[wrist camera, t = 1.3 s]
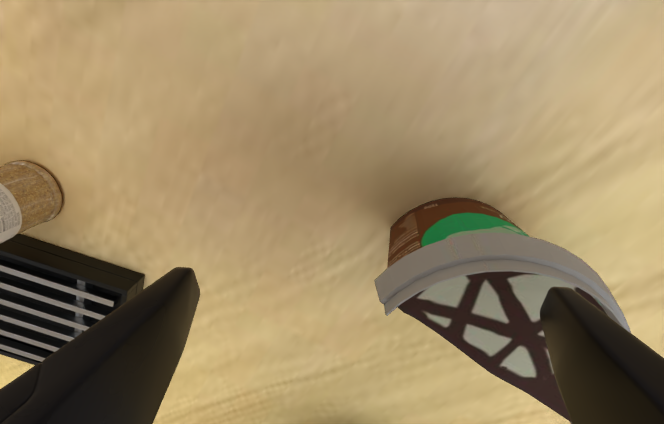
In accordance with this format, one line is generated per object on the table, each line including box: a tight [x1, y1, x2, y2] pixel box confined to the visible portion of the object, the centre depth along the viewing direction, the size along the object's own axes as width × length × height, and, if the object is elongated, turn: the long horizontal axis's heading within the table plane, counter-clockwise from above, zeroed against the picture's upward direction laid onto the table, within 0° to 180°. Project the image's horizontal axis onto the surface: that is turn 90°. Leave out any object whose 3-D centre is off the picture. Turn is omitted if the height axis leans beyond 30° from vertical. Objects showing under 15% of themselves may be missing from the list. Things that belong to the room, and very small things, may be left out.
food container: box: [374, 198, 631, 424], centre depth 19 cm, size 12×6×10 cm, turn 55°
